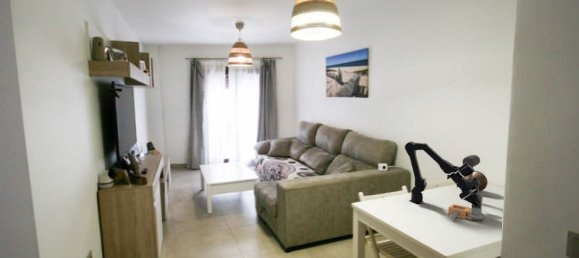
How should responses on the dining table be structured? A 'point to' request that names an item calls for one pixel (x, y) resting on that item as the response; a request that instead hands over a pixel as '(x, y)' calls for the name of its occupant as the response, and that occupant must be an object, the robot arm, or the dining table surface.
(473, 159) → the rubber mallet
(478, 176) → the wooden sphere
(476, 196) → the dark grey long block
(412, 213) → the dining table surface
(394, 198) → the dining table surface
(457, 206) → the bracket head
